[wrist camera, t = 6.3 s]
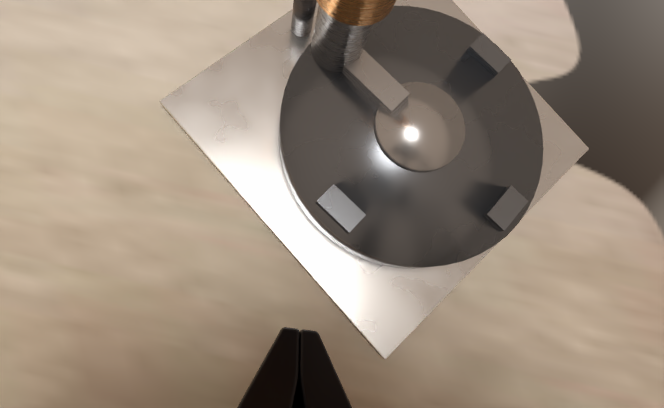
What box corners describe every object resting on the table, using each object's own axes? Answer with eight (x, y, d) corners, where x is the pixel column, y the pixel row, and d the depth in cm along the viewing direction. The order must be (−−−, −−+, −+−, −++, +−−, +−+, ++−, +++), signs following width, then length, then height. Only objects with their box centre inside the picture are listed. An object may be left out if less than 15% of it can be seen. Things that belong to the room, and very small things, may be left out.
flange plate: (582, 151, 22) (631, 130, 19) (381, 357, 19) (405, 371, 16) (392, -55, 23) (411, -106, 20) (162, 105, 19) (142, 71, 16)
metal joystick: (418, 326, 18) (664, 388, 7) (213, 128, 19) (137, -115, 7) (566, 144, 21) (904, -14, 10) (388, -24, 22) (524, -363, 10)
